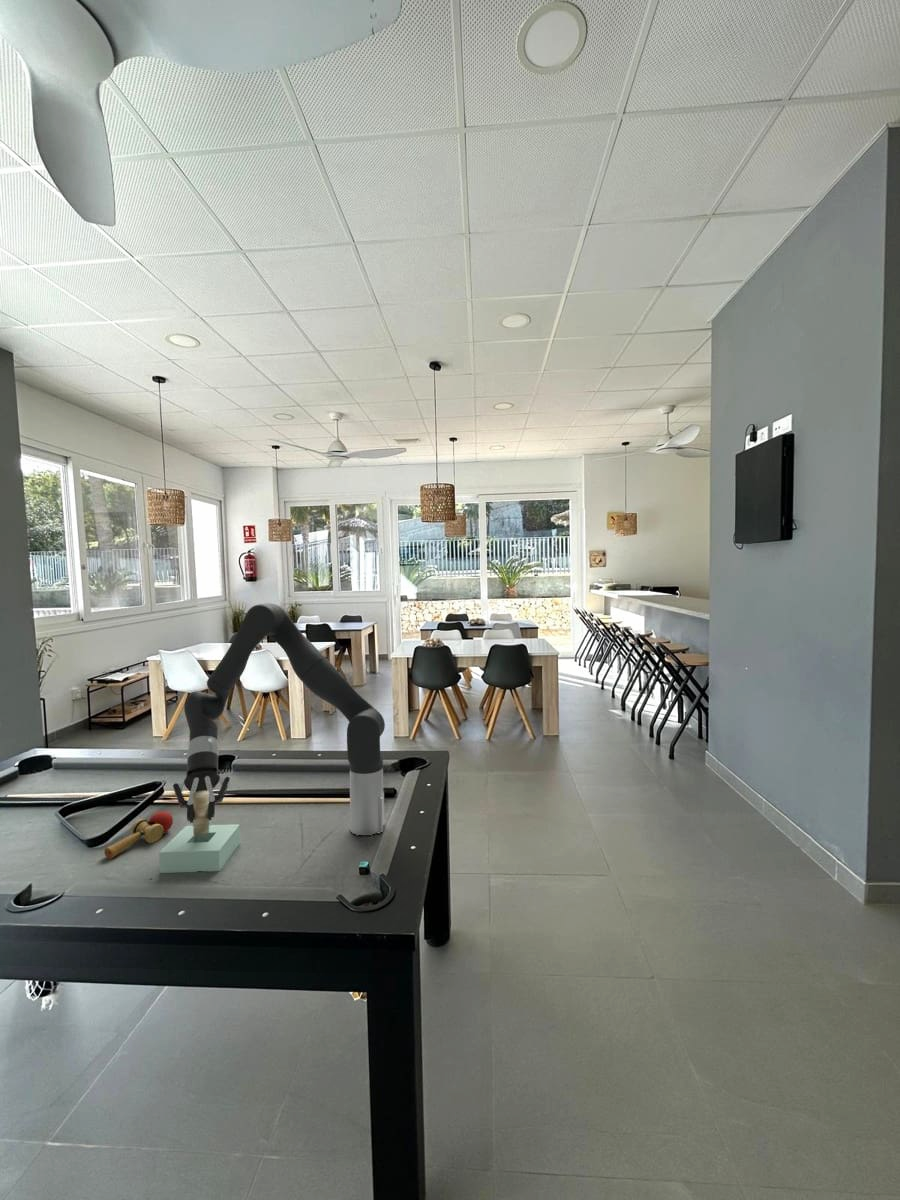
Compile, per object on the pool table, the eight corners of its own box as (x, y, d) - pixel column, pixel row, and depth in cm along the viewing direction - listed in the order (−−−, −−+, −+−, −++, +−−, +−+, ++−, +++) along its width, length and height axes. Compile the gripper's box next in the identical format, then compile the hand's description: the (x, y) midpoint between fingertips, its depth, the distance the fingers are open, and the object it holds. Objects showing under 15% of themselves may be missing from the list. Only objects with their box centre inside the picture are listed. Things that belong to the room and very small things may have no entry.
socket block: (240, 842, 138) (239, 824, 138) (219, 871, 124) (219, 850, 124) (186, 844, 137) (186, 825, 137) (159, 873, 123) (159, 852, 123)
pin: (211, 829, 133) (211, 790, 133) (205, 835, 129) (205, 795, 129) (197, 829, 133) (196, 790, 132) (190, 836, 129) (190, 796, 129)
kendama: (122, 867, 129) (182, 826, 146) (115, 843, 129) (176, 805, 145) (102, 866, 132) (163, 827, 149) (95, 843, 131) (157, 806, 148)
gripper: (172, 753, 135) (167, 818, 124) (231, 747, 140) (231, 809, 129) (174, 767, 140) (169, 831, 129) (231, 760, 145) (231, 821, 134)
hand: (200, 819), depth 129 cm, fingers closed on pin, 3 cm apart
